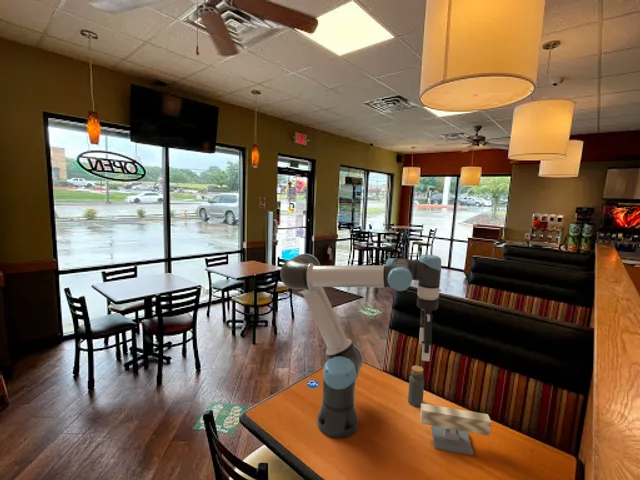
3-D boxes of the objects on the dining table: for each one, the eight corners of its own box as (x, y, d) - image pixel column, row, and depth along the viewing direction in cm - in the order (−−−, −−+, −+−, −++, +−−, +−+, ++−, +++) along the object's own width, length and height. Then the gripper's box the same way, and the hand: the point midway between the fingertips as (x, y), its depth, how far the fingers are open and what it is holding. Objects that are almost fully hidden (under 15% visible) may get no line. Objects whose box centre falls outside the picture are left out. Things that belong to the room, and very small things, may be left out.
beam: (486, 427, 109) (488, 414, 109) (489, 435, 106) (491, 422, 105) (420, 416, 114) (421, 403, 114) (421, 423, 111) (421, 410, 110)
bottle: (423, 407, 128) (425, 373, 126) (408, 405, 130) (410, 371, 128) (421, 399, 134) (424, 365, 132) (407, 397, 135) (409, 363, 133)
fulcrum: (434, 448, 107) (435, 431, 107) (431, 427, 117) (432, 412, 116) (472, 455, 105) (474, 439, 104) (466, 434, 114) (467, 418, 114)
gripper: (443, 309, 104) (438, 370, 107) (434, 289, 128) (431, 339, 131) (419, 306, 106) (415, 366, 108) (415, 287, 130) (412, 336, 132)
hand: (423, 351), depth 119 cm, fingers open, 13 cm apart
